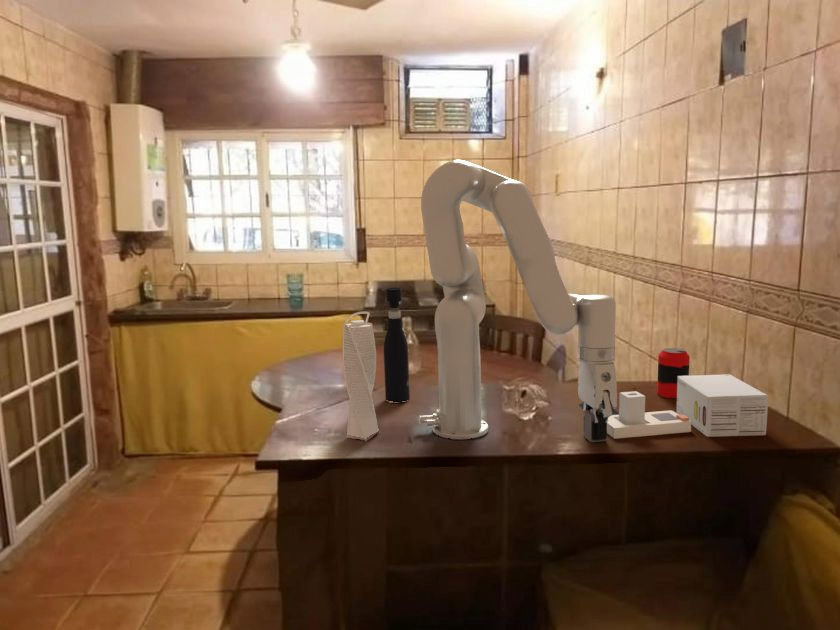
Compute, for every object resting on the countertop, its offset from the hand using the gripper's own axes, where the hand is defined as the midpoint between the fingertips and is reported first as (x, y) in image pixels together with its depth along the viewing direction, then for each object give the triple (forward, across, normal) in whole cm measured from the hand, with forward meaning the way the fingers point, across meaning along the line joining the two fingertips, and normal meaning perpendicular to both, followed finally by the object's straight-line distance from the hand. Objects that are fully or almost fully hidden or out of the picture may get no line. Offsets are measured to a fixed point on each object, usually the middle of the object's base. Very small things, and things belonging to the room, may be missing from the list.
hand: (594, 435), depth 138 cm
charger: (0, +3, -10) cm, 10 cm away
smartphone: (+1, +16, -9) cm, 18 cm away
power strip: (+1, +3, -13) cm, 13 cm away
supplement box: (+1, +3, -31) cm, 31 cm away
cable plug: (+1, 0, 0) cm, 1 cm away
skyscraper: (+1, +14, +49) cm, 51 cm away
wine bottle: (+1, +39, +38) cm, 54 cm away
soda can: (+1, +25, -33) cm, 41 cm away
